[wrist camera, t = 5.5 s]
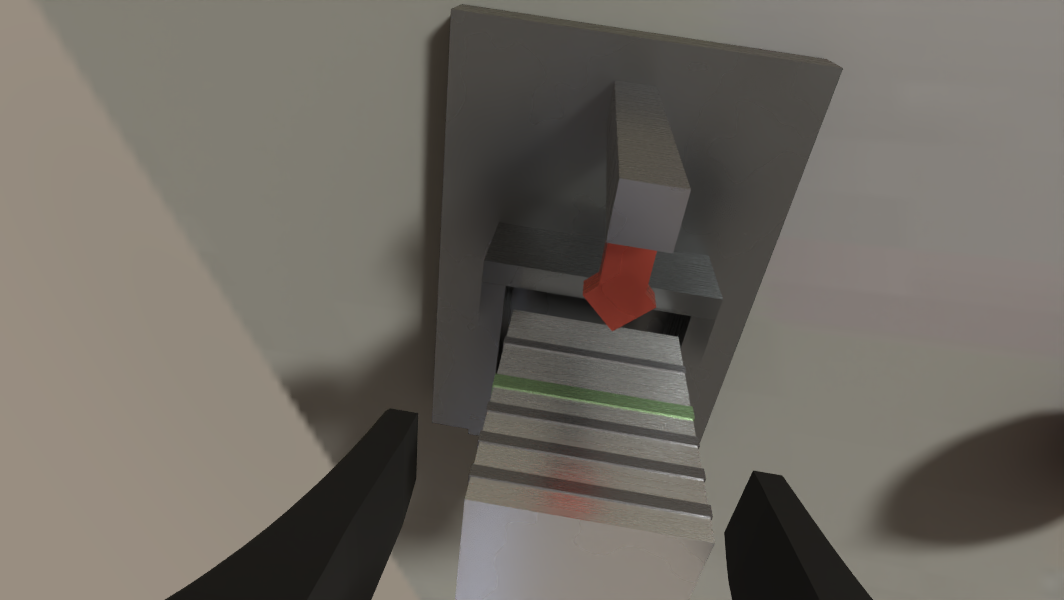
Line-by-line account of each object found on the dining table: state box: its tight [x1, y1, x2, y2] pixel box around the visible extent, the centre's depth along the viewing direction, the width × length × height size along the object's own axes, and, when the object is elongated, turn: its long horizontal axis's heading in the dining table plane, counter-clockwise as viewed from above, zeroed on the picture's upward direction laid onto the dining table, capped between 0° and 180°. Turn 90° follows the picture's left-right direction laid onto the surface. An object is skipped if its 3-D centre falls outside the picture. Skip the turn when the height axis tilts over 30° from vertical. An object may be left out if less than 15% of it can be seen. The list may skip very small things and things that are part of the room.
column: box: [455, 310, 715, 600], centre depth 13 cm, size 4×4×6 cm
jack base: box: [432, 4, 843, 443], centre depth 14 cm, size 13×9×8 cm
